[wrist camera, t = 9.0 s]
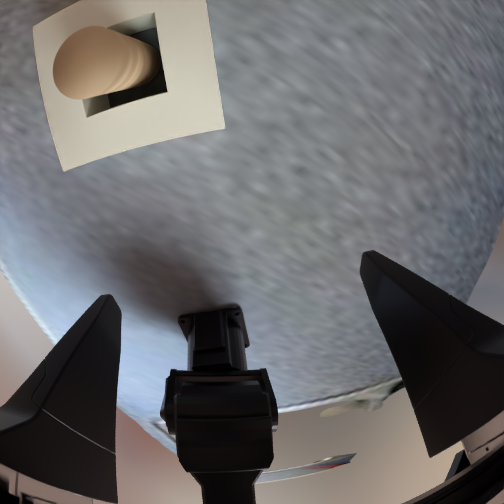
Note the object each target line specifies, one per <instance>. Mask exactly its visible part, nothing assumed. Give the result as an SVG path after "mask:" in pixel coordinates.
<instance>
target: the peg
mask: <svg viewBox="0 0 504 504" xmlns="http://www.w3.org/2000/svg"><path fill="white" fill-rule="evenodd" d="M159 67H160V56H159V54H158V52H157V50H156V49H155V48H154V47H153V46H151V45H149V44H147V43H144V42H142V41H139V40H137V39H134V38H132V37H129V36H127V35H124V34H121V33H119V32H116V31H113V30H110V29H108V28H105V27H101V26H89V27H85V28H82V29H80V30H78V31H76V32H75V33H73V34H72V35H70V36H69V37H68V38H67V39H66V40H65V41H64V42H63V44H62V45H61V46H60V48H59V50H58V52H57V54H56V56H55V59H54V63H53V79H54V82H55V85H56V87H57V88H58V90H59V91H60V92H61V93H62V94H63V95H65V96H66V97H68V98H71V99H77V100H82V99H87V98H91V97H95V96H99V95H103V94H107V93H111V92H116V91H120V90H125V89H130V88H135V87H140V86H143V85H145V84H147V83H149V82H150V81H151V80H152V79H153V78H154V77H155V76H156V74H157V72H158V70H159Z"/></svg>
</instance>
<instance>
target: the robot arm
mask: <svg viewBox="0 0 504 504" xmlns="http://www.w3.org/2000/svg"><path fill="white" fill-rule="evenodd" d="M360 276H361V279H362V281H363V284H364V287H365V290H366V293H367V296H368V298H369V301H370V304H371V307H372V310H373V312H374V315H375V317H376V319H377V321H378V323H379V326H380V328H381V330H382V332H383V335H384V337H385V339H386V341H387V344H388V346H389V348H390V351H391V353H392V355H393V358H394V360H395V362H396V365H397V367H398V370H399V372H400V375H401V377H402V380H403V382H404V385H405V388H406V390H407V393H408V395H409V398H410V401H411V404H412V406H413V409H414V412H415V415H416V418H417V421H418V424H419V427H420V430H421V432H422V436H423V439H424V442H425V445H426V448H427V452H428V455H429V457H430V458H431V457H433V456H435V455H437V454H439V453H441V452H442V451H444V450H446V449H447V448H449V447H451V446H453V445H454V444H456V443H458V442H459V441H461V442H462V444H463V447H464V450H462V451H460V452H459V453H457V454H456V455H455V458H454V460H453V463H452V465H451V468H450V470H449V472H448V475H447V477H446V479H445V481H444V482H443V483H442V484H440V485H438V486H436V487H435V488H433V489H431V490H429V491H427V492H425V493H423V494H421V495H419V496H417V497H415V498H413V499H411V500H409V501H407V502H405V503H402V504H504V325H502V324H501V323H499V322H497V321H495V320H493V319H491V318H490V317H488V316H486V315H484V314H482V313H480V312H479V311H477V310H475V309H473V308H472V307H470V306H468V305H466V304H465V303H463V302H461V301H460V300H458V299H456V298H455V297H453V296H452V295H449V294H448V293H447V292H445V291H444V290H442V289H440V288H439V287H437V286H435V285H434V284H432V283H430V282H429V281H427V280H425V279H424V278H422V277H420V276H419V275H417V274H415V273H413V272H412V271H410V270H408V269H407V268H405V267H403V266H401V265H400V264H398V263H396V262H394V261H392V260H391V259H389V258H387V257H385V256H384V255H382V254H380V253H378V252H376V251H374V250H371V251H366V252H364V253H363V254H362V259H361V266H360ZM236 312H238V313H236ZM121 319H122V314H121V310H120V308H119V306H118V305H117V303H116V301H115V299H114V298H113V296H112V295H111V294H106V295H101V296H100V297H99V298H98V299H97V300H96V301H95V302H94V303H93V304H92V305H91V306H90V307H89V308H88V309H87V310H86V311H85V313H84V314H83V315H82V316H81V317H80V318H79V319H78V320H77V321H76V322H75V324H74V325H73V326H72V327H71V328H70V329H69V330H68V331H67V333H66V334H65V335H64V336H63V337H62V338H61V339H60V341H59V342H58V343H57V344H56V345H55V346H54V348H53V349H52V350H51V351H50V352H49V354H48V355H47V356H46V357H45V359H44V360H43V361H42V362H41V363H40V365H39V366H38V367H37V368H36V369H35V371H34V372H33V373H32V374H31V375H30V376H29V378H28V379H27V380H26V381H25V382H24V383H23V384H22V385H21V386H20V388H19V389H18V390H17V391H16V392H15V393H14V394H13V395H12V397H11V398H10V399H9V400H8V401H7V402H6V403H5V404H4V405H3V406H1V407H0V504H93V499H96V500H101V501H105V502H109V503H114V504H118V496H117V483H116V482H117V481H116V455H115V428H116V402H117V386H118V374H119V363H120V353H121ZM178 323H179V325H180V327H181V329H182V331H183V334H184V336H185V338H186V340H187V342H188V366H187V371H185V370H177V369H171V371H170V376H168V378H166V385H165V395H164V399H163V403H162V406H161V410H160V416H161V418H162V419H163V420H164V421H165V422H166V426H167V427H168V432H169V434H170V435H176V447H177V455H178V458H179V462H180V463H181V465H182V466H183V468H184V469H185V471H186V472H190V473H191V475H192V476H193V477H194V478H195V480H196V481H197V482H198V483H199V484H200V485H201V489H202V499H203V504H256V501H255V490H254V484H255V482H256V480H257V479H258V477H259V476H260V474H261V473H262V471H263V470H264V469H269V467H270V465H271V463H272V461H273V458H274V454H273V437H272V432H275V431H276V430H277V427H278V409H277V403H276V399H275V395H274V392H273V389H272V386H271V383H270V380H269V377H268V373H267V370H266V368H261V369H260V370H247V362H246V354H245V348H247V347H249V346H250V344H249V339H248V334H247V330H246V325H245V321H244V316H243V312H242V309H241V308H238V307H236V308H230V309H224V310H217V311H210V312H203V313H196V314H189V315H182V316H179V317H178Z"/></svg>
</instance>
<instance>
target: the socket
mask: <svg viewBox="0 0 504 504" xmlns="http://www.w3.org/2000/svg"><path fill="white" fill-rule="evenodd" d="M89 26H101V27H105V28H108V29H110V30H113V31H116V32H119V33H121V34H124V35H127V36H128V35H131V34H134V33H137V32H141V31H144V30H147V29H151V28H154V27H157V32H158V39H159V45H160V51H161V57H162V63H163V69H164V74H165V80H166V85H167V91H166V92H162V93H159V94H155V95H151V96H147V97H144V98H140V99H137V100H134V101H130V102H127V103H124V104H121V105H118V106H115V107H112V108H110V104H109V100H108V95H107V94H103V95H99V96H95V97H91V98H87V99H82V100H77V99H71V98H68V97H66V96H65V95H63V94H62V93H61V92H60V91H59V90H58V88H57V87H56V85H55V82H54V79H53V63H54V59H55V56H56V54H57V52H58V50H59V48H60V46H61V45H62V44H63V42H64V41H65V40H66V39H67V38H68V37H69V36H70V35H72V34H73V33H75V32H76V31H78V30H80V29H82V28H85V27H89ZM33 39H34V48H35V56H36V63H37V70H38V76H39V81H40V87H41V92H42V97H43V101H44V106H45V110H46V114H47V118H48V122H49V126H50V130H51V133H52V137H53V140H54V144H55V147H56V150H57V154H58V157H59V160H60V163H61V166H62V169H63V172H64V171H67V170H69V169H72V168H75V167H78V166H80V165H83V164H86V163H89V162H92V161H95V160H98V159H101V158H104V157H107V156H110V155H114V154H117V153H120V152H124V151H127V150H131V149H134V148H138V147H142V146H145V145H149V144H153V143H157V142H161V141H165V140H170V139H174V138H179V137H183V136H188V135H193V134H198V133H203V132H208V131H214V130H219V129H225V123H224V116H223V110H222V103H221V97H220V91H219V84H218V78H217V71H216V65H215V58H214V52H213V45H212V38H211V32H210V25H209V18H208V12H207V5H206V0H81V1H78V2H76V3H74V4H72V5H70V6H68V7H66V8H65V9H63V10H61V11H59V12H57V13H55V14H53V15H52V16H50V17H48V18H46V19H45V20H43V21H41V22H40V23H38V24H37V25H35V26H33Z"/></svg>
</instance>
